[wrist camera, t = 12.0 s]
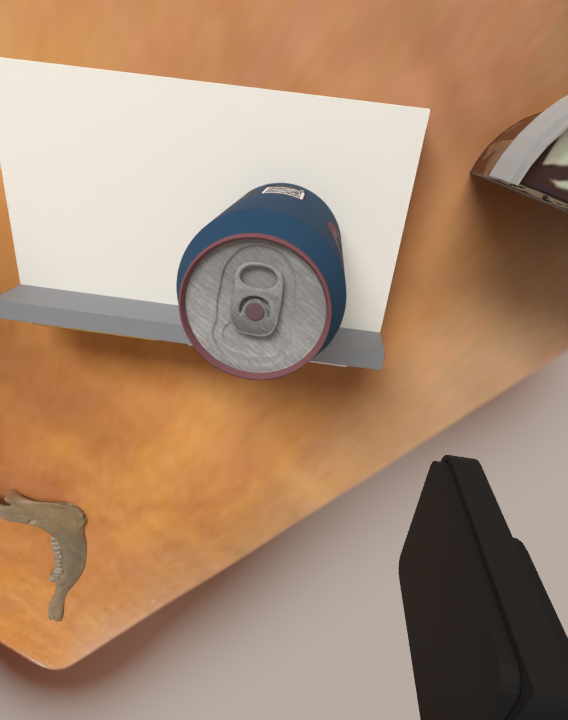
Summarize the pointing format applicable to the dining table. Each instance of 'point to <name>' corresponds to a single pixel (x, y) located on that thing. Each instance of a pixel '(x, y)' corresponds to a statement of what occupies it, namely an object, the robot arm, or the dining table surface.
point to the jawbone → (54, 540)
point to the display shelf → (186, 191)
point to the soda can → (264, 283)
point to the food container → (532, 157)
